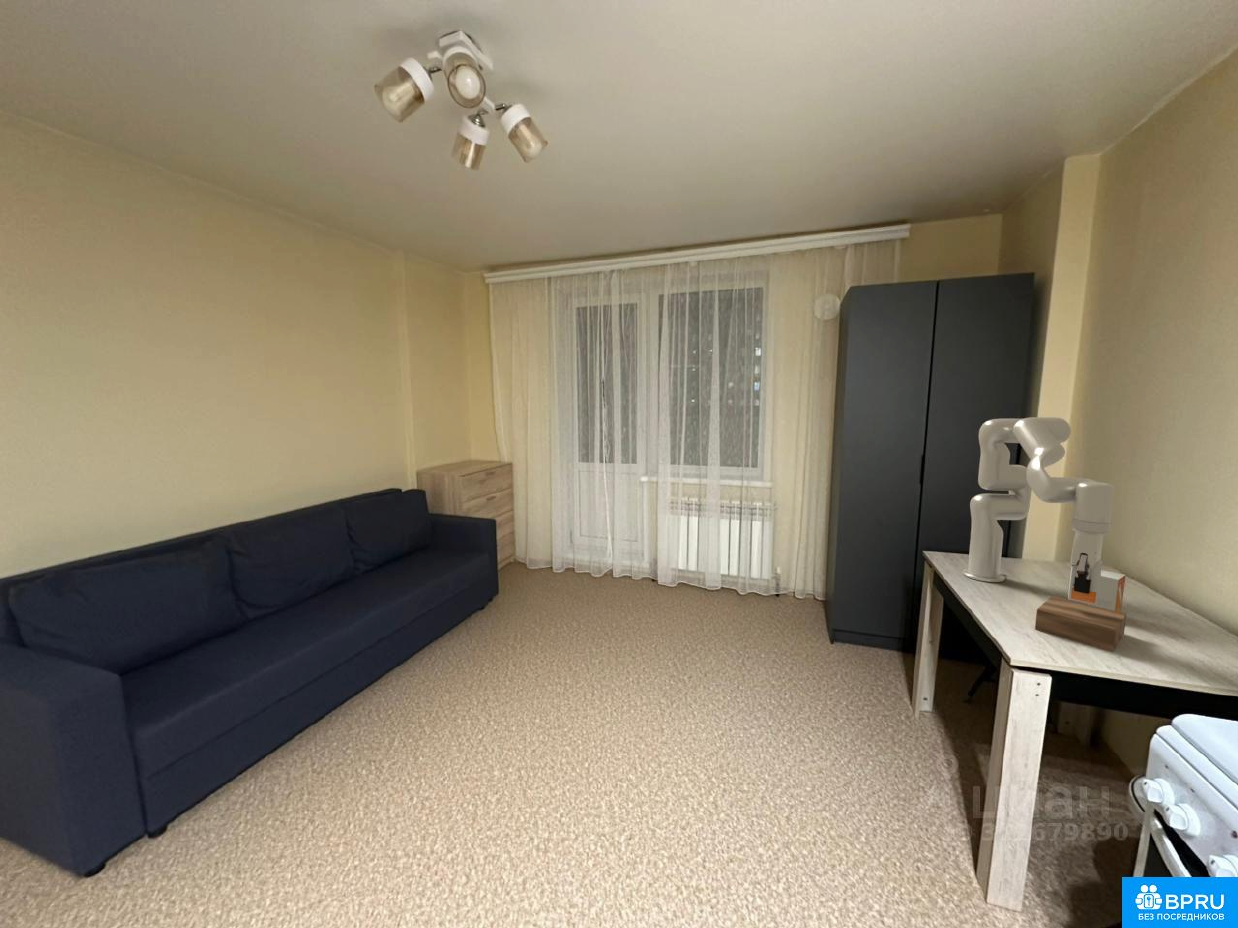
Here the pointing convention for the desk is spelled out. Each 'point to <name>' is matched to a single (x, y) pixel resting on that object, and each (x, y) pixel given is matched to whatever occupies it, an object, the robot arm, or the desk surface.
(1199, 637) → the desk surface
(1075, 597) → the skincare box
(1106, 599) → the small box
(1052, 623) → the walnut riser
